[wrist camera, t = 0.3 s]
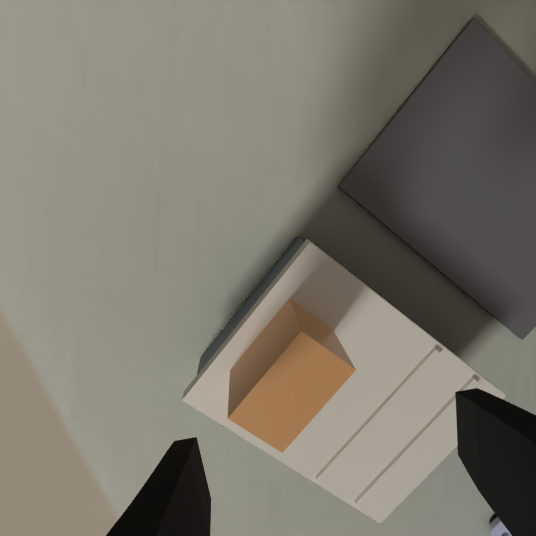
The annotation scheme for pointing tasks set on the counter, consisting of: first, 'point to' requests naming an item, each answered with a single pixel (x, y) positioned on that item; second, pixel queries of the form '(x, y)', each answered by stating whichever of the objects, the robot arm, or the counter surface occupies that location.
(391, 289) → the counter surface
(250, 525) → the counter surface
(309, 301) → the lid
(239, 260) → the counter surface
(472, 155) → the board
